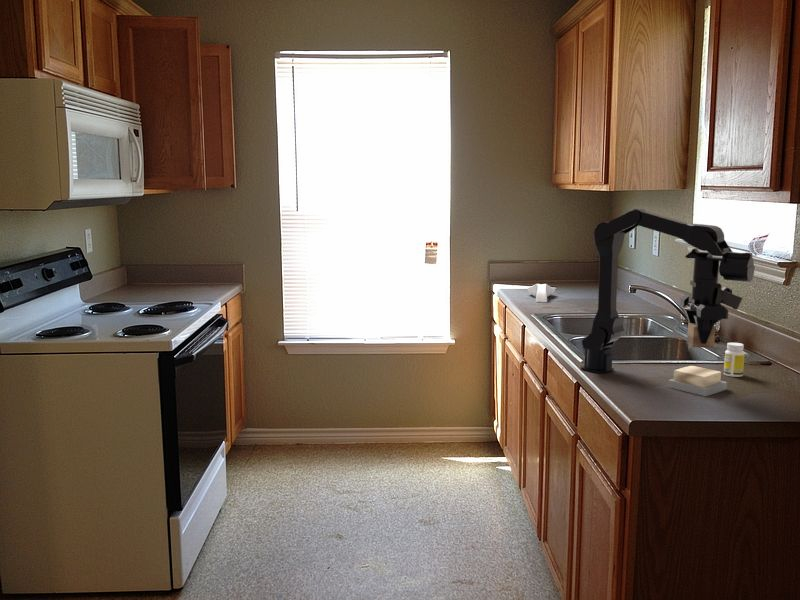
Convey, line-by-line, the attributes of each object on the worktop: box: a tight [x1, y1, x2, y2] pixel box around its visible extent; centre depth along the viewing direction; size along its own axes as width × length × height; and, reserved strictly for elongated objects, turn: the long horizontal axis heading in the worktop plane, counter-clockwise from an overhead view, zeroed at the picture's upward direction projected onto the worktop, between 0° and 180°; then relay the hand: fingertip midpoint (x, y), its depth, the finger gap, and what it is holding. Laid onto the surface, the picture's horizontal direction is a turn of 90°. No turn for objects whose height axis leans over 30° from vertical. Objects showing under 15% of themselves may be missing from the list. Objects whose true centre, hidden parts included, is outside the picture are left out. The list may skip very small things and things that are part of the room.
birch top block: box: [672, 365, 722, 387], centre depth 189 cm, size 8×8×2 cm
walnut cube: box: [686, 322, 716, 349], centre depth 187 cm, size 5×5×5 cm
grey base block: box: [667, 378, 728, 397], centre depth 189 cm, size 10×10×2 cm
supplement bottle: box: [723, 342, 746, 378], centre depth 202 cm, size 5×5×8 cm
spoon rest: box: [527, 283, 556, 303], centre depth 326 cm, size 24×12×7 cm, turn 171°
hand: (700, 341), depth 187 cm, fingers closed on walnut cube, 5 cm apart
